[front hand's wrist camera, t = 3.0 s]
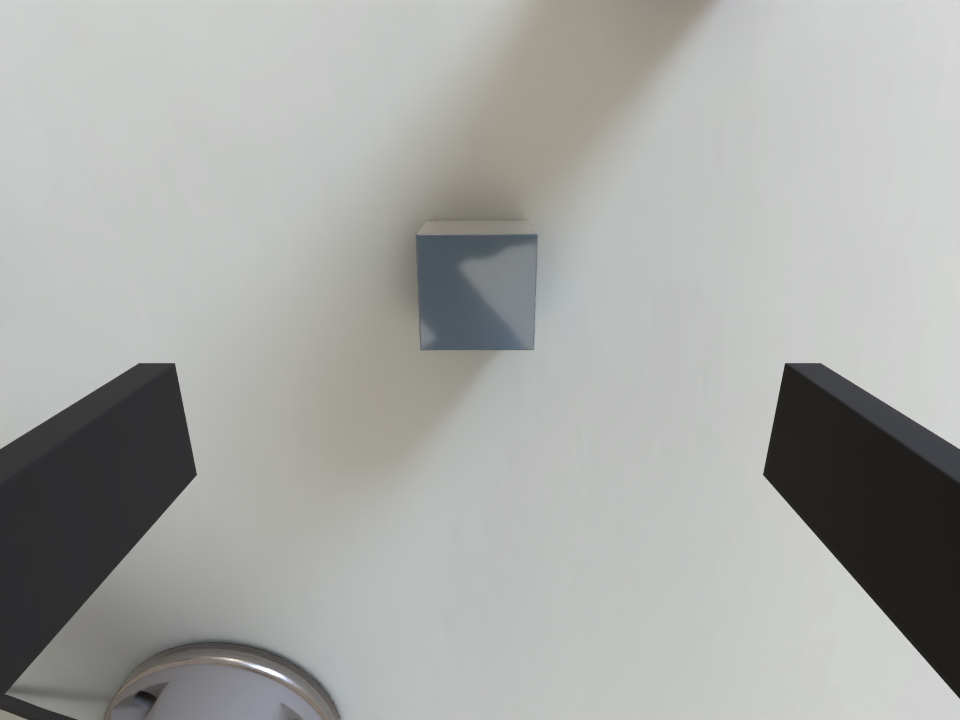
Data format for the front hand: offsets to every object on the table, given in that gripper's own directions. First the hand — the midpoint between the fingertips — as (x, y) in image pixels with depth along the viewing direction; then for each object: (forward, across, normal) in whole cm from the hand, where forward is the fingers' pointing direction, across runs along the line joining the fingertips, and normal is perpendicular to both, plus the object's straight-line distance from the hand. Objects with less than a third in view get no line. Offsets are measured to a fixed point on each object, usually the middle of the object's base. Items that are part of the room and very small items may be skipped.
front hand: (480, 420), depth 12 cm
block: (+17, 0, 0) cm, 17 cm away
